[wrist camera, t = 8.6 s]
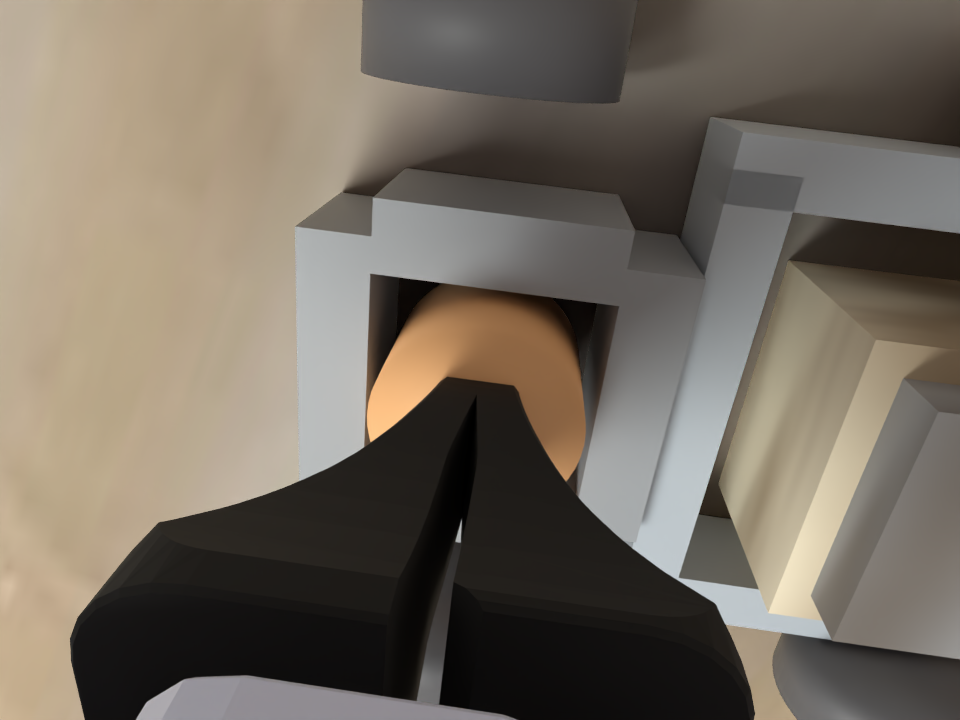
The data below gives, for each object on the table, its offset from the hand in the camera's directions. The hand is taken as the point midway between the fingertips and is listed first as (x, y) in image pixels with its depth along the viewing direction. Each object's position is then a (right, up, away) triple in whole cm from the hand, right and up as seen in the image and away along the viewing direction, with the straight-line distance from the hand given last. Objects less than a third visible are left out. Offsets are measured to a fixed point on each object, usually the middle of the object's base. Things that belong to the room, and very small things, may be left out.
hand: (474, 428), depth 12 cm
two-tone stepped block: (+9, +1, +4) cm, 10 cm away
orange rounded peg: (0, +2, +3) cm, 4 cm away
